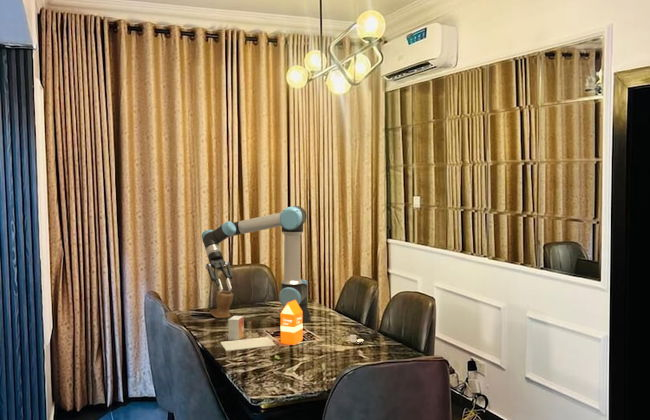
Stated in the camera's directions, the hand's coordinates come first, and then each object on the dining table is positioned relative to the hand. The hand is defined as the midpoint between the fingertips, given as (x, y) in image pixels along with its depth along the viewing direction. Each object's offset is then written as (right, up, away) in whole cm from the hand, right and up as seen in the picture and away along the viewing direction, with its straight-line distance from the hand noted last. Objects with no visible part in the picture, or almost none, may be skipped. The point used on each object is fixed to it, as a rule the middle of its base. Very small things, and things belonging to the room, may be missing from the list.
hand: (226, 290), depth 297 cm
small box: (+7, -23, -10) cm, 26 cm away
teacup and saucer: (+67, -24, -21) cm, 74 cm away
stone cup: (-8, -21, +36) cm, 42 cm away
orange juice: (+35, -23, -16) cm, 45 cm away
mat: (+14, -23, -20) cm, 34 cm away
